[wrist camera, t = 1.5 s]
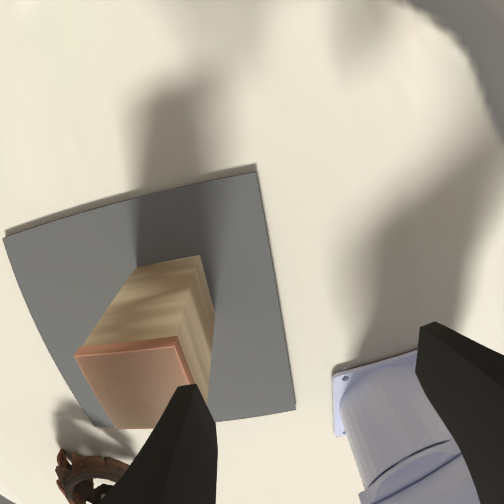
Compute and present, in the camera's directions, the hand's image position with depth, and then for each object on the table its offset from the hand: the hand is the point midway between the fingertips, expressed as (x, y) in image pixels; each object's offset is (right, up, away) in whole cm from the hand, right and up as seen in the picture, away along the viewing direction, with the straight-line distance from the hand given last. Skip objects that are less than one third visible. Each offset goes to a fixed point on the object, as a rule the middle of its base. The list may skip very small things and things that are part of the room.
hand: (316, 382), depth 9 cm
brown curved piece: (-18, -19, +17) cm, 32 cm away
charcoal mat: (-9, -2, +11) cm, 15 cm away
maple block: (-7, +2, +10) cm, 12 cm away
